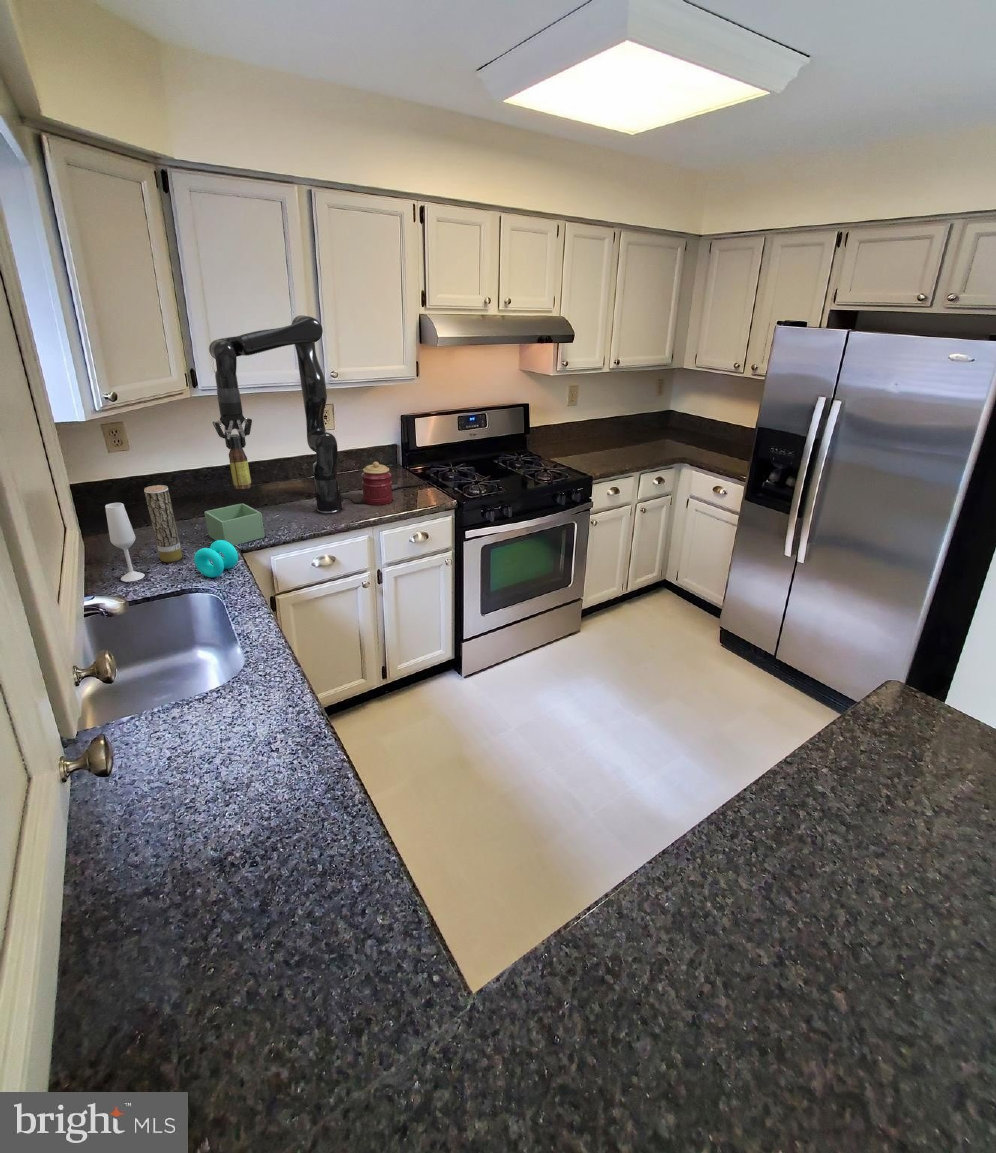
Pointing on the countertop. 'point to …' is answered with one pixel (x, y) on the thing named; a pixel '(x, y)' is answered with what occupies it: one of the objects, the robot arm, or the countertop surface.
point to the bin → (235, 524)
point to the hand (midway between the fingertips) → (236, 447)
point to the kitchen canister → (377, 484)
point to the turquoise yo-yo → (216, 558)
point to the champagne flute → (122, 536)
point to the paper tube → (163, 523)
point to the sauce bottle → (239, 464)
